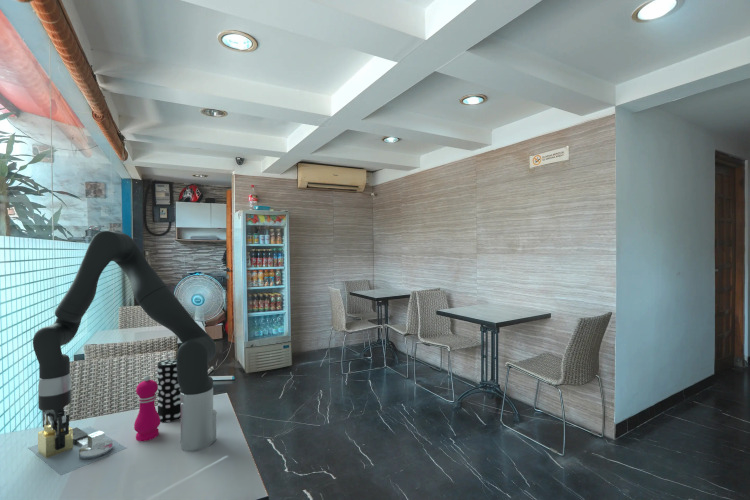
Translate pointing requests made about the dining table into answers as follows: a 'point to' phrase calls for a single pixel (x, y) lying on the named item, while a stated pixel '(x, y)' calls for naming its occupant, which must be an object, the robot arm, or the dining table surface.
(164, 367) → the spotted tube
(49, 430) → the brass knob block
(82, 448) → the metal ladle
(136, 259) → the robot arm
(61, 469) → the mat
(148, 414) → the pepper mill
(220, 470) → the dining table surface
